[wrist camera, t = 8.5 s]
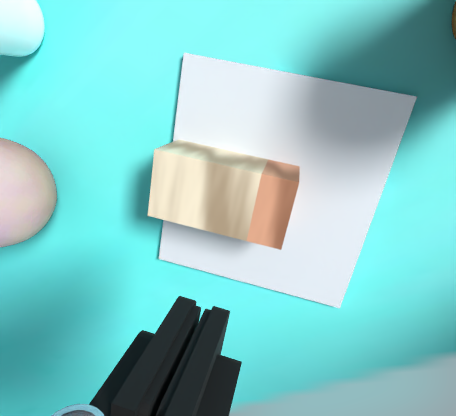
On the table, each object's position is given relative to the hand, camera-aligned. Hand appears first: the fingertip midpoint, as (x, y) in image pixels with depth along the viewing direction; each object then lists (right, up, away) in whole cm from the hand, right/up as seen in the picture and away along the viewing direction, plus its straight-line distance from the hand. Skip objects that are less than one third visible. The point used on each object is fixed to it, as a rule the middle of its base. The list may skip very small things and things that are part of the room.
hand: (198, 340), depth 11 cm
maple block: (+6, +4, +14) cm, 16 cm away
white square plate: (+4, +6, +17) cm, 19 cm away
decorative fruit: (-17, +7, +22) cm, 28 cm away
